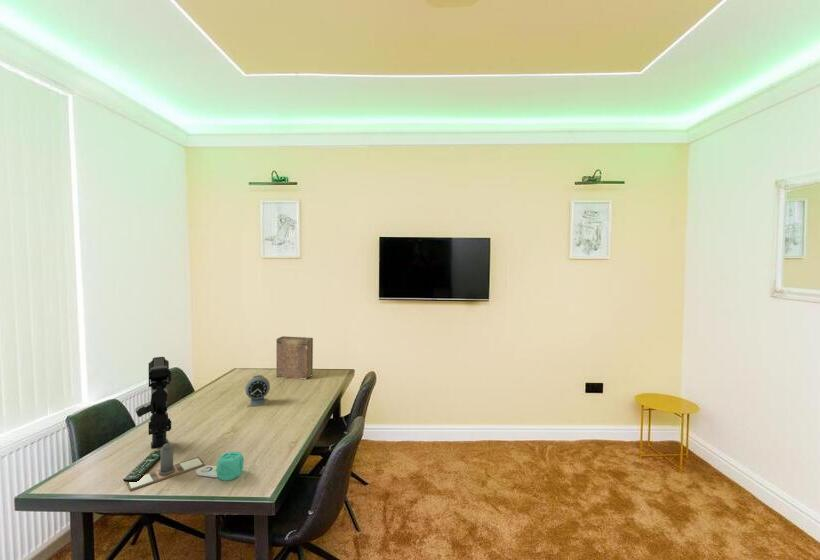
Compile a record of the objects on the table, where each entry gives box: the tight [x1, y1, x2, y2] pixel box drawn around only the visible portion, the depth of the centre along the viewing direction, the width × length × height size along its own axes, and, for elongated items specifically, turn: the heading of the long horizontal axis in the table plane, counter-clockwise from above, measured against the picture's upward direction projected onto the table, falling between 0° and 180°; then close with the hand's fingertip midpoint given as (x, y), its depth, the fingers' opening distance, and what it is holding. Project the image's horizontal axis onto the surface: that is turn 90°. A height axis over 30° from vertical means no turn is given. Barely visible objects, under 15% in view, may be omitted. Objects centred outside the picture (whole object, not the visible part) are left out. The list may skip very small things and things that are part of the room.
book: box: [276, 335, 314, 380], centre depth 287 cm, size 25×9×30 cm, turn 81°
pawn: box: [158, 442, 175, 476], centre depth 154 cm, size 6×6×12 cm
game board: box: [125, 456, 206, 492], centre depth 154 cm, size 9×26×1 cm, turn 136°
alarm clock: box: [244, 374, 271, 408], centre depth 232 cm, size 14×10×18 cm
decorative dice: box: [215, 451, 245, 482], centre depth 154 cm, size 8×8×8 cm
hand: (159, 430), depth 166 cm, fingers open, 9 cm apart
